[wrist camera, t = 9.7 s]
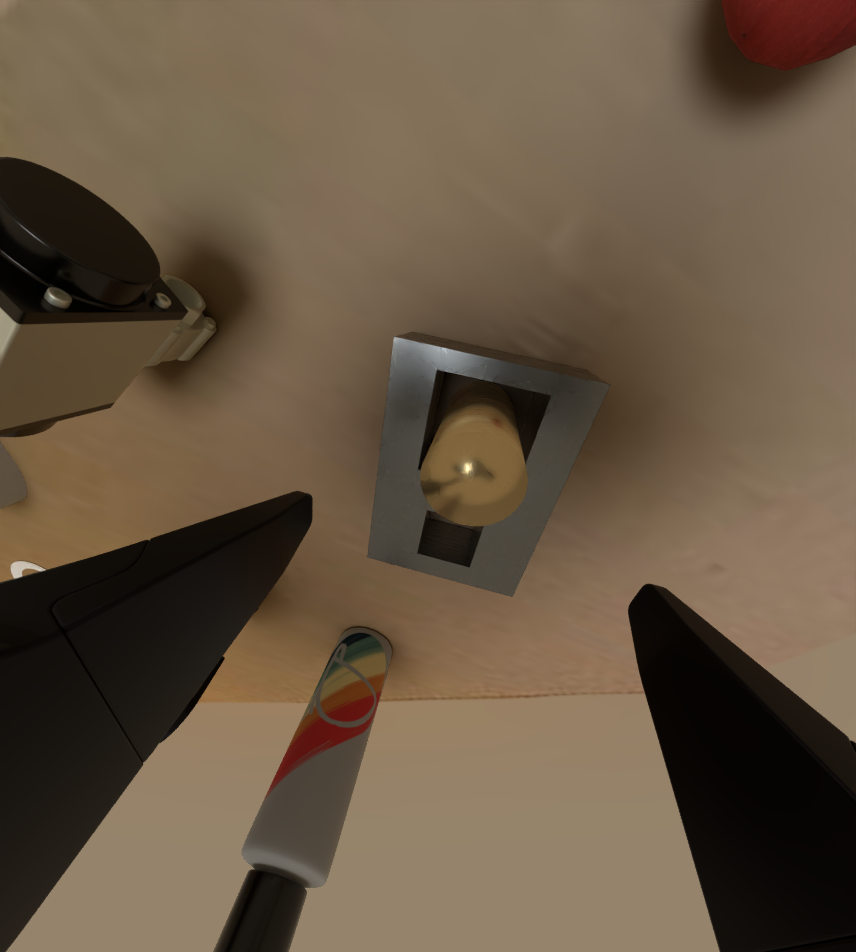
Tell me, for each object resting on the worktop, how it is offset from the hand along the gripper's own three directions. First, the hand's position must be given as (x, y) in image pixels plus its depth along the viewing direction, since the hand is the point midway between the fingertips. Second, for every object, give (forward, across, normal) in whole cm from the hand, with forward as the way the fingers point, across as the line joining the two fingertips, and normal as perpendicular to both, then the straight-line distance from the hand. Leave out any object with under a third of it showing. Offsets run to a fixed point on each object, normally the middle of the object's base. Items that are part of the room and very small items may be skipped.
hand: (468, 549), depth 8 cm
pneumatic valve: (+13, +20, -2) cm, 24 cm away
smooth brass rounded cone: (+13, 0, 0) cm, 13 cm away
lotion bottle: (+13, +5, +26) cm, 30 cm away
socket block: (+13, 0, +3) cm, 13 cm away
